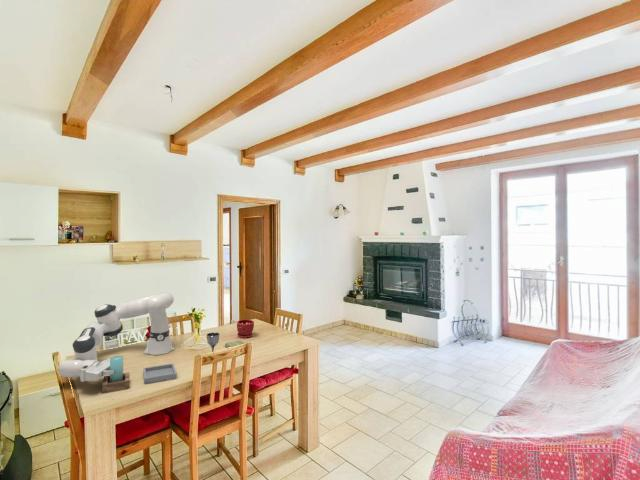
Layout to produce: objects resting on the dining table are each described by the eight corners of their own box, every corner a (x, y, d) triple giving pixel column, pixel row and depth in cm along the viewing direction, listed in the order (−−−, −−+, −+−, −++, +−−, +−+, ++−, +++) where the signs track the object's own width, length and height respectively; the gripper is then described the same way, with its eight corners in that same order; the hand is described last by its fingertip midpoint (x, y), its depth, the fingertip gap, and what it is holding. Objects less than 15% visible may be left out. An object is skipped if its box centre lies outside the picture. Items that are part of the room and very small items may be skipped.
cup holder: (103, 383, 182) (103, 376, 182) (129, 379, 188) (129, 372, 188) (102, 393, 172) (102, 385, 172) (129, 388, 178) (129, 380, 177)
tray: (143, 373, 197) (143, 368, 197) (173, 368, 205) (173, 363, 204) (144, 384, 183) (144, 378, 183) (176, 378, 191) (176, 373, 191)
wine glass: (220, 354, 229) (220, 332, 228) (217, 359, 221) (217, 336, 220) (208, 354, 228) (208, 332, 228) (204, 358, 221) (205, 335, 220)
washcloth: (235, 353, 232) (235, 349, 232) (223, 346, 245) (223, 342, 245) (252, 349, 241) (252, 345, 241) (239, 343, 254) (239, 339, 254)
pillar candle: (109, 384, 181) (110, 357, 181) (123, 382, 184) (123, 355, 184) (109, 389, 176) (109, 360, 175) (122, 387, 179) (123, 358, 178)
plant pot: (233, 337, 265) (233, 322, 264) (242, 333, 277) (242, 318, 277) (248, 340, 261) (248, 324, 261) (256, 335, 274) (256, 320, 273)
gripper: (103, 366, 190) (128, 367, 190) (78, 383, 169) (106, 383, 170) (103, 355, 190) (128, 356, 190) (78, 370, 169) (106, 371, 170)
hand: (118, 369), depth 180 cm, fingers closed on pillar candle, 6 cm apart
